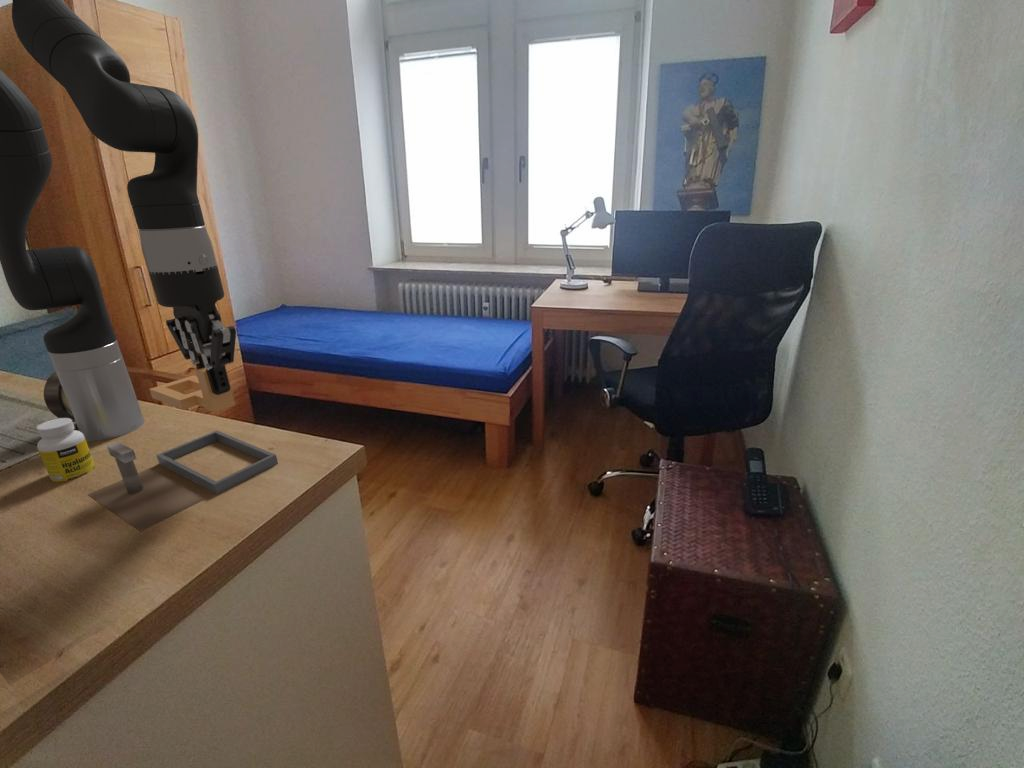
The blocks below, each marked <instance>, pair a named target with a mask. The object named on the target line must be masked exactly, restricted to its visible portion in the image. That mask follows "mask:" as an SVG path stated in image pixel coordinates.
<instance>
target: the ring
mask: <svg viewBox="0 0 1024 768" xmlns="http://www.w3.org/2000/svg"><path fill="white" fill-rule="evenodd" d="M225 369H226V373H227V377H228V381H229V384H230V390H229V391H228V392H225V393H222V394H219V395H216V394H213V393H212V390H211V386H210V382H209V379H208V375H207V372H206V368H205V367H204V368H201V369H197V368H196V369H195V373H196V375H191V376H186V377H183V378H180V379H178V380H174V381H171V382H168V383H164V384H161V385H158V386H154V387H151V388H148V389H149V392H150V395H151V399H154V400H156V401H159V402H162V403H164V404H166V405H169V406H171V407H174V408H176V409H180V410H182V411H185V410H187V409H191V408H194V407H196V406H199V407H202V408H205V409H206V411H209V412H211V413H214V414H216V413H218V412H221V411H223V410H226V409H228V408H231V407H233V406H236V402H235V398H234V394H233V390H232V387H231V383H230V379H229V374H228V372H227V371H228V370H227V365H225ZM190 390H193V391H192V392H190V393H187V394H185V393H183V392H186V391H190Z"/></svg>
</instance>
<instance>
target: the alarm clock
mask: <svg viewBox="0 0 1024 768" xmlns="http://www.w3.org/2000/svg"><path fill="white" fill-rule="evenodd" d="M43 387H44V388H43V400H44V402H45V405H46V408H47V409H48V410H49V411H50V413H51V414H53V416H55V417H56V418H57V419H59V418H70V419H71V420H72V422H73V423H75V424H74V430H76V431H79V429H78V426H77V424H76V421H75V418H74V416H73V413H72V411H71V408H70V406H69V403H68V401H67V398H66V396H65V393H64V391H63V388H62V386H61V383H60V381H59V378H58V376H57V373H56V370H54V371H53V372H52V373H51V374H50V375H49V377H48V378H47V380H46V382H45V385H44V386H43Z"/></svg>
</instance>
